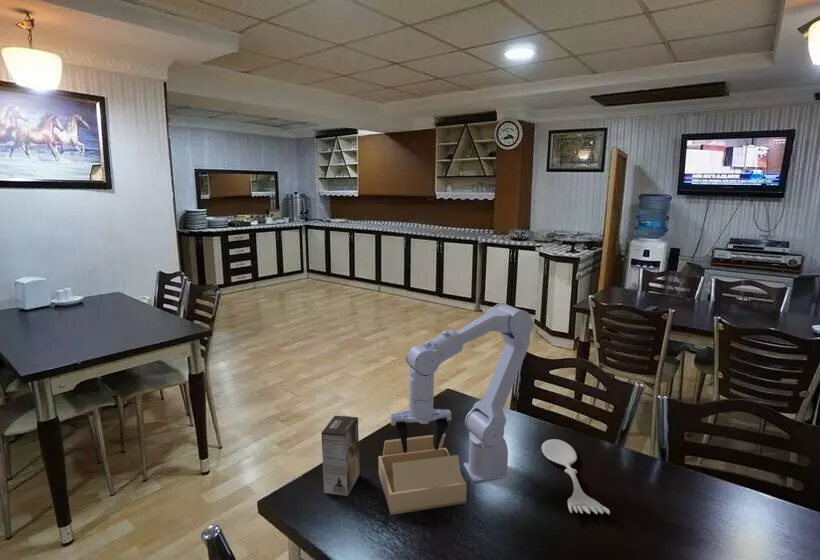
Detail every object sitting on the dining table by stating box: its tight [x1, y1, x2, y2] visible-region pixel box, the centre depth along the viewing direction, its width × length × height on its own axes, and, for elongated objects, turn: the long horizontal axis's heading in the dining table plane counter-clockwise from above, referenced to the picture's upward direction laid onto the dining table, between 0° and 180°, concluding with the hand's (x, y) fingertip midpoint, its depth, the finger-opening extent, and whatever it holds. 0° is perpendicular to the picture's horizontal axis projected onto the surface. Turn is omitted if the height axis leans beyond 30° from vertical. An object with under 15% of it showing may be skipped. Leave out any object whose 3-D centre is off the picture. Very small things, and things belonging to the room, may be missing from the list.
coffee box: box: [321, 415, 361, 497], centre depth 115 cm, size 9×6×16 cm
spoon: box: [541, 438, 611, 516], centre depth 118 cm, size 9×32×4 cm, turn 177°
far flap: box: [382, 433, 446, 456], centre depth 119 cm, size 16×6×1 cm
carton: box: [377, 447, 468, 516], centre depth 114 cm, size 18×16×5 cm
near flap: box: [392, 454, 462, 492], centre depth 107 cm, size 16×6×1 cm
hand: (420, 449), depth 113 cm, fingers open, 7 cm apart
